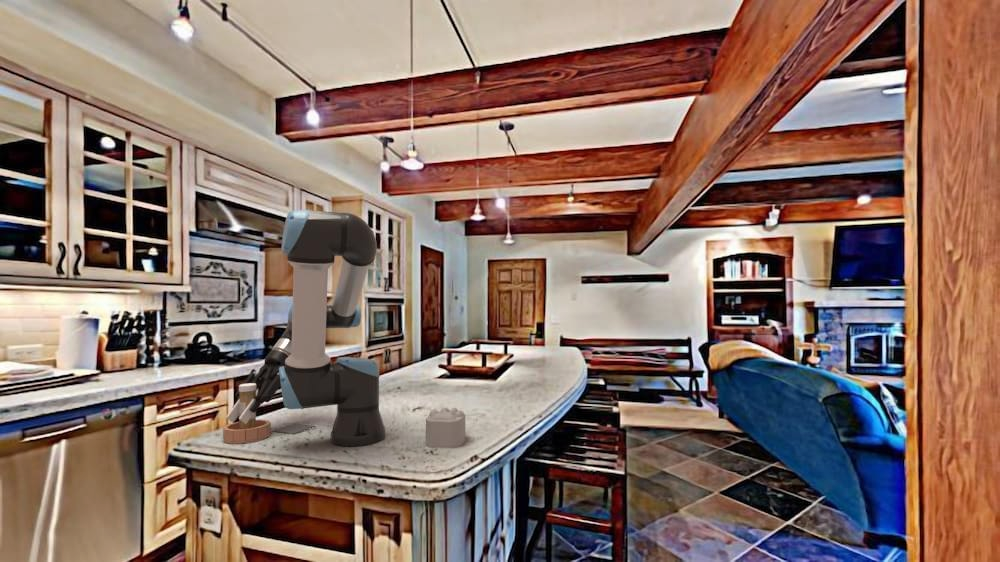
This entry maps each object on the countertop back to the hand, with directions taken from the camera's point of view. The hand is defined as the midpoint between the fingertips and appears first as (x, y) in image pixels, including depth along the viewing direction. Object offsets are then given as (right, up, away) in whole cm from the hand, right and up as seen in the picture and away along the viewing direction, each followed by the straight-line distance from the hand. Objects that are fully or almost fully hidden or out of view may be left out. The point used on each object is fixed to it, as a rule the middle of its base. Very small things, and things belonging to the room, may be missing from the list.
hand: (236, 420), depth 136 cm
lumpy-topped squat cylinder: (+61, -5, -2) cm, 61 cm away
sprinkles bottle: (+1, -4, +3) cm, 6 cm away
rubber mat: (+11, -6, +12) cm, 18 cm away
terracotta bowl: (+1, -6, +3) cm, 7 cm away
